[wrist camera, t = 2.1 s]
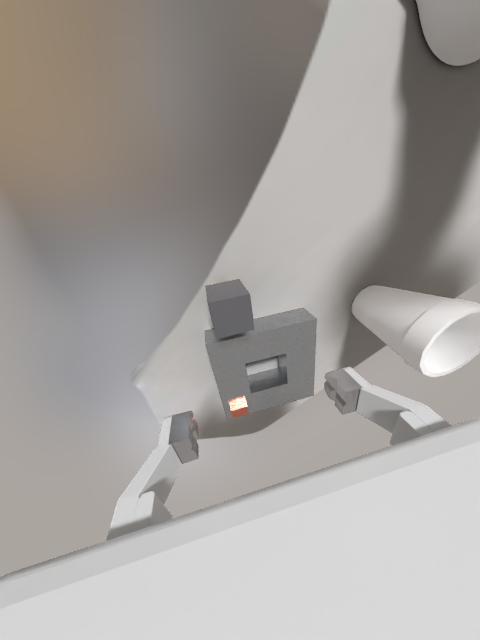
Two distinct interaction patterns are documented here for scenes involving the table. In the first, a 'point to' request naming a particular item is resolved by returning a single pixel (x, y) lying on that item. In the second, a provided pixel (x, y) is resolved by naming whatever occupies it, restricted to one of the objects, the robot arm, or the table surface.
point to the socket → (264, 342)
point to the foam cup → (422, 327)
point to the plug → (230, 308)
